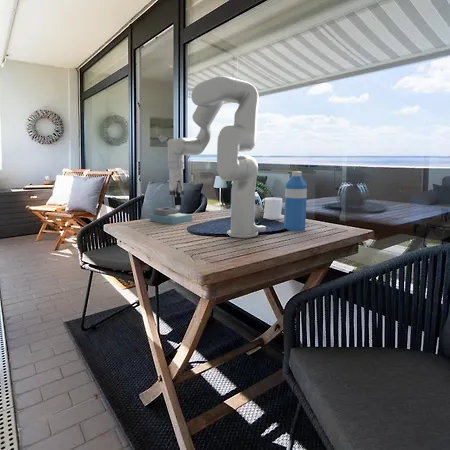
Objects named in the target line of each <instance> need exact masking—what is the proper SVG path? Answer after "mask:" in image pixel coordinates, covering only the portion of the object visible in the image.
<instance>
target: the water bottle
mask: <svg viewBox="0 0 450 450" xmlns="http://www.w3.org/2000/svg"><path fill="white" fill-rule="evenodd" d="M302 175H303V172H302V171H298V170H297V171H296V170H295V171H294V170H293V171H291V176H290V178H288V180H287V181H286V183H285V184H284V185H285V188H284V190H285V191H284V192H285V193H284V210H283V211H284V214H283V215H284V217H283V228H284V227H285V228H286V229H287V230H286V231H291V232H301V231H305V230H306V220H307V219H306V216H307V201H308V200H307V198H308V197H307V196H308V184H307V181H305V179H304V178H303V176H302Z"/></svg>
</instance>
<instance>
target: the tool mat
mask: <svg viewBox="0 0 450 450" xmlns="http://www.w3.org/2000/svg"><path fill="white" fill-rule="evenodd" d="M180 213H181V212H179V213H177V214H171V215H168V216H171V217H181V216H187V215H186V214H187V213H184V214H180Z"/></svg>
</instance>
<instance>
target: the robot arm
mask: <svg viewBox="0 0 450 450" xmlns="http://www.w3.org/2000/svg"><path fill="white" fill-rule="evenodd" d="M192 89H193V90H192V92H191V100H192V103H193V104H194V105H196V108H195V110H194V112H193V114H192V117H191V118H192V120H193V122H194V123H195V124H196V125H197V126H198V127H199V128H200V129H199V132H198V134H197V135H196V137H195V138H194V137H179V138H169V139H168V140H167V170H169V171H168V172H169V173H168V174H169V175H168V177H169V178H168V188H169V190H170V191H175V197H174V198H173V197H172V205H173V206H174V205H180V206H181V205H182V195H181V191H184V173H183V170H184V169H185V156H198V155H200V154H201V155H202V153H203V152H204V151H205V149H206V148H207V146H208V144H209V143H210V140H211V137H212V136H211V134H212V131H211V125H212V123H213V121H214V119H215V118H216V116H217V115H218V113H219V112H220V110H221V108H222V106H223V105H224V103H225V102H227V103H233V104H238V105H237V107H236V109H235V111H234V117H233V119H234V122H233V124H227V125H225V126H223V127H221V129H220V131H219V132H218V135H217V136H218V137H217V142H216V143H217V144H216V145H217V150H216V153H217V154H216V170H217V175H218V176H219V178H220V179H221V180H223V181H225V182H232V186H231V191H230V229H229V230H227V231H226V235H227V234H228V235H229V237H232V238H240V239H247V238H250V239H251V238H254V237H257V236H258V235H259V232H266V230H267V226H265V225H257V224H256V222H255V213H256V211H255V210H256V184H257V183H256V182H257V177H258V172H259V166H258V162H257V160H256V159H255V157H253V156H250V155H247V154H246V155H245V154H239V152H249V151H252V150H253V149H254V148H255V146H256V142H257V141H256V139H257V126H258V125H257V124H258V122H257V121H258V109H259V101H260V100H259V98H260V96H259V92H258V90H257V87H255V85H254V84H252V83H250V82H248V81H245V80H242V79H238V78H235V77H234V78H233V77H230V76H226V75H219V76H216V77H212V78H209V79H206V80H204V81H200V82H199V83H198V84H196V85H195V86H194V87H193V88H192ZM228 235H227V236H228Z"/></svg>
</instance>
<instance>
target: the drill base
mask: <svg viewBox="0 0 450 450" xmlns="http://www.w3.org/2000/svg"><path fill="white" fill-rule="evenodd" d="M179 211H180V210H174V207H168V206H165V207H158V208H154V209H153V214H150V215H149V220H150V221H151V222H156V223H162V224H166V225H171V226H172V225H178V224H183V223H188V222H192V221H193V214H190V213H184V212H183V213H182V212H179ZM177 213H180V214H186V215H187V216H181V217H171V216H168V215H171V214H177Z"/></svg>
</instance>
